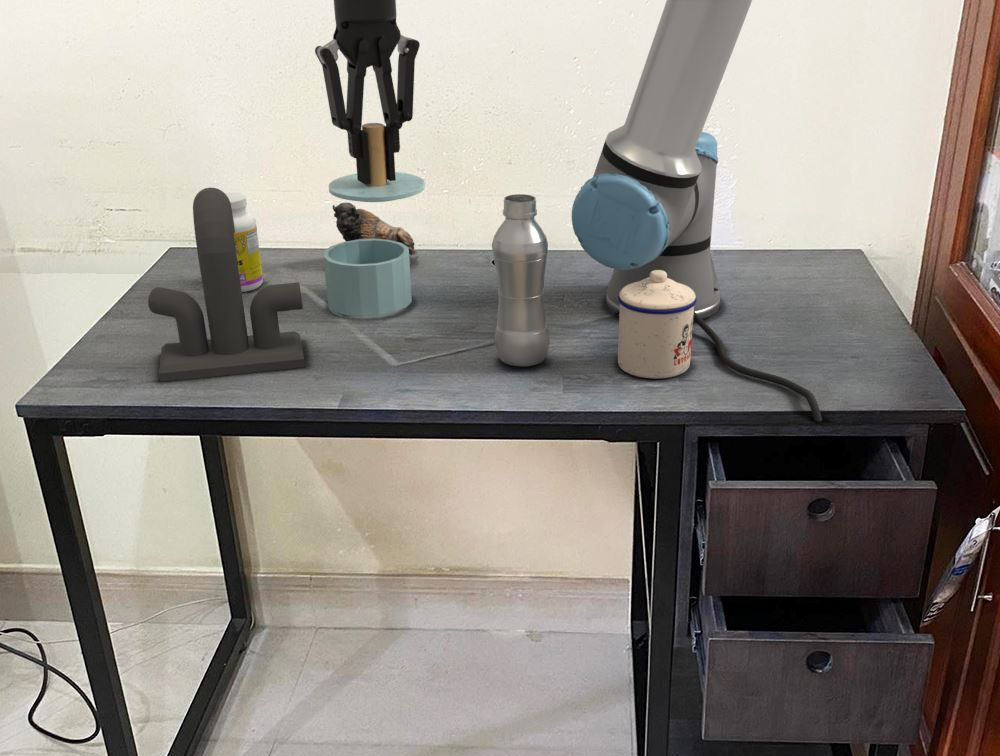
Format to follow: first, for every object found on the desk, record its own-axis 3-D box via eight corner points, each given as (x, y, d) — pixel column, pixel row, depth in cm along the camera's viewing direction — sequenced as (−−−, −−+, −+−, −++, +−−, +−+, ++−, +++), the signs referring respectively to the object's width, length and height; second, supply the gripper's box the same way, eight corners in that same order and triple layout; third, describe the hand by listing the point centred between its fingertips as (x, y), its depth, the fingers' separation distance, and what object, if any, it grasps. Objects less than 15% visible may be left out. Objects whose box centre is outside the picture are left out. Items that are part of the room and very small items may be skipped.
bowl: (425, 309, 156) (422, 256, 152) (347, 326, 151) (342, 271, 147) (391, 285, 164) (387, 234, 161) (316, 300, 160) (310, 247, 156)
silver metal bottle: (532, 377, 136) (531, 209, 126) (484, 365, 139) (479, 201, 129) (559, 358, 140) (560, 195, 130) (512, 347, 144) (509, 188, 134)
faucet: (301, 320, 153) (284, 169, 143) (310, 366, 140) (291, 203, 130) (161, 334, 150) (134, 180, 140) (156, 382, 137) (126, 216, 127)
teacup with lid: (689, 383, 133) (696, 287, 128) (611, 378, 135) (614, 283, 129) (695, 344, 144) (701, 253, 138) (622, 339, 145) (626, 250, 139)
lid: (441, 197, 149) (438, 128, 145) (350, 211, 144) (345, 141, 140) (401, 175, 159) (398, 110, 154) (315, 188, 154) (309, 121, 149)
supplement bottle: (207, 290, 164) (193, 201, 157) (233, 276, 169) (221, 189, 163) (247, 296, 162) (235, 205, 155) (272, 281, 167) (261, 193, 160)
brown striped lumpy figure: (418, 260, 174) (414, 193, 169) (420, 275, 168) (416, 207, 163) (338, 264, 173) (332, 197, 168) (337, 279, 167) (331, 210, 162)
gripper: (410, -22, 145) (419, 166, 157) (290, -14, 138) (309, 181, 150) (436, -17, 139) (443, 178, 151) (312, -7, 133) (329, 195, 145)
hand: (376, 179), depth 151 cm, fingers closed on lid, 3 cm apart
